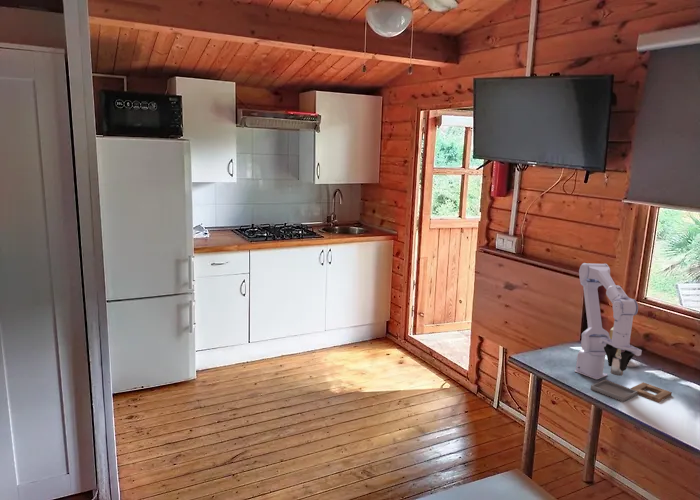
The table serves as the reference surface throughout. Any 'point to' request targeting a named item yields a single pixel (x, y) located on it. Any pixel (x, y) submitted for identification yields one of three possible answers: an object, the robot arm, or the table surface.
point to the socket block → (658, 397)
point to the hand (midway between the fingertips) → (616, 367)
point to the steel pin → (616, 366)
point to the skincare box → (611, 338)
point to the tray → (614, 390)
